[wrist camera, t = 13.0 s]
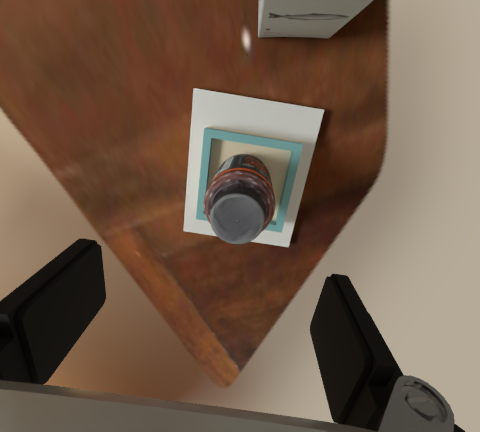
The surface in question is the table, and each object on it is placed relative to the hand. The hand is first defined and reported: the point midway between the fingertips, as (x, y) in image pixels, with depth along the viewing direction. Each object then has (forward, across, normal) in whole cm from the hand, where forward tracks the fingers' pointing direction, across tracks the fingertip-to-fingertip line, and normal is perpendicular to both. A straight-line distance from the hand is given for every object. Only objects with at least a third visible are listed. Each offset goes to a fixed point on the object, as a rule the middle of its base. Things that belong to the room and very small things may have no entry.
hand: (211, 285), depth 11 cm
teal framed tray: (+22, -1, +1) cm, 22 cm away
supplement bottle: (+19, -1, +1) cm, 19 cm away
